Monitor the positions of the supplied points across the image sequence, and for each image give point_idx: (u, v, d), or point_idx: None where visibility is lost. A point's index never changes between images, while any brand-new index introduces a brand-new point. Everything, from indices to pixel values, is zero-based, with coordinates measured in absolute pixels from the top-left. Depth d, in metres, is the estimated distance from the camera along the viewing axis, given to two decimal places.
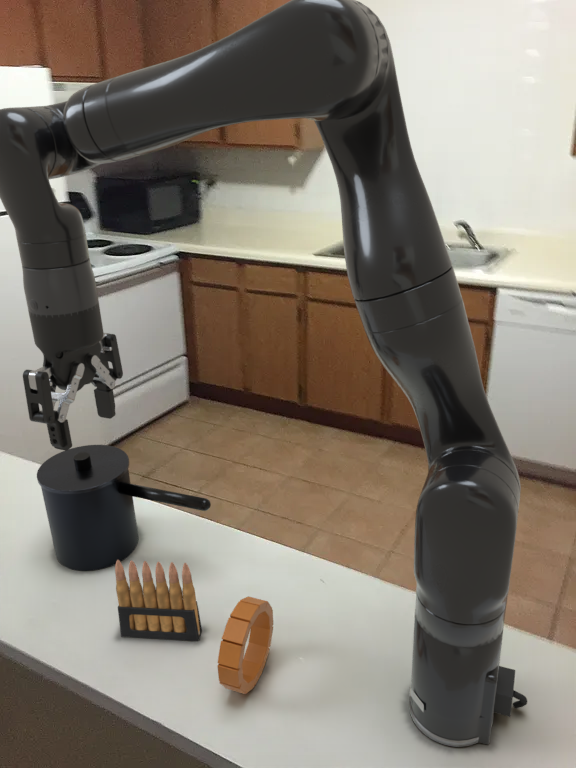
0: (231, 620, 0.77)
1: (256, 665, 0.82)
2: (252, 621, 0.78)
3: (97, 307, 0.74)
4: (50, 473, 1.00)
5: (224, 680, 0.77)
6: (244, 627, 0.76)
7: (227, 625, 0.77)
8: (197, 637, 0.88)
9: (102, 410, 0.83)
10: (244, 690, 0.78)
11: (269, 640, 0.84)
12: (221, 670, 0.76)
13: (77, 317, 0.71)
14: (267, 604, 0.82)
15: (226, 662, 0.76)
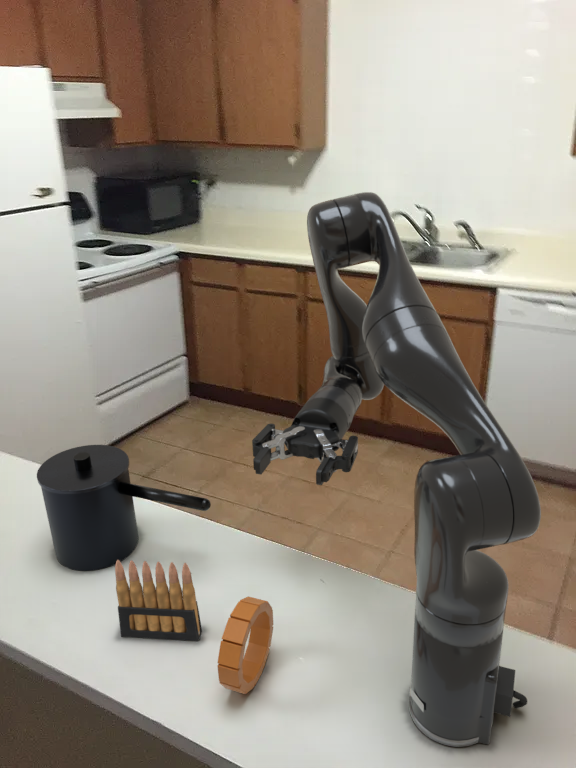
0: (231, 620, 0.77)
1: (256, 665, 0.82)
2: (252, 621, 0.78)
3: (330, 400, 0.99)
4: (50, 473, 1.00)
5: (224, 680, 0.77)
6: (244, 627, 0.76)
7: (227, 625, 0.77)
8: (197, 637, 0.88)
9: None
10: (244, 690, 0.78)
11: (269, 640, 0.84)
12: (221, 670, 0.76)
13: (310, 400, 1.00)
14: (267, 604, 0.82)
15: (226, 662, 0.76)
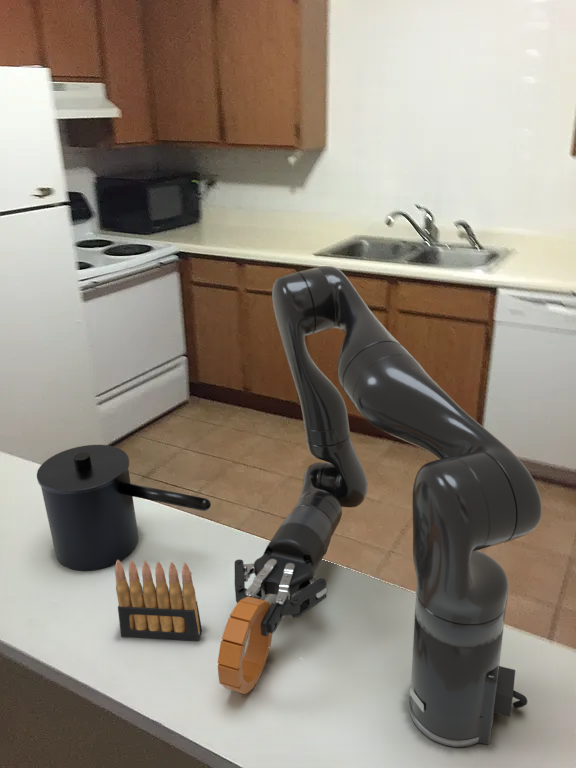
0: (231, 620, 0.77)
1: (256, 665, 0.82)
2: (252, 621, 0.78)
3: (305, 527, 0.93)
4: (50, 473, 1.00)
5: (224, 680, 0.76)
6: (244, 627, 0.76)
7: (227, 625, 0.77)
8: (197, 637, 0.88)
9: None
10: (244, 690, 0.78)
11: (269, 640, 0.84)
12: (221, 670, 0.76)
13: (284, 526, 0.94)
14: (267, 604, 0.82)
15: (226, 662, 0.76)
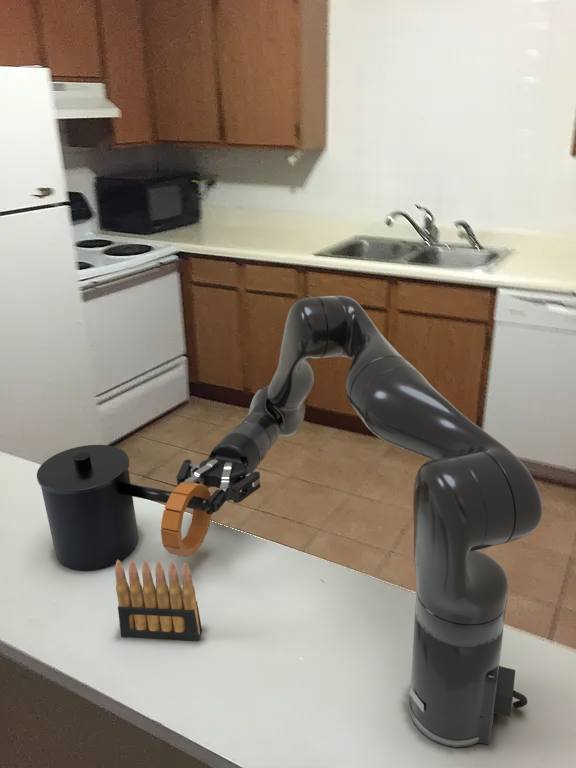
0: (173, 494, 0.95)
1: (196, 539, 1.00)
2: (190, 496, 0.95)
3: (244, 436, 1.11)
4: (50, 473, 1.00)
5: (166, 542, 0.94)
6: (183, 499, 0.94)
7: (169, 498, 0.95)
8: (197, 637, 0.88)
9: None
10: (183, 552, 0.95)
11: (208, 521, 1.02)
12: (163, 533, 0.94)
13: (227, 436, 1.12)
14: (205, 488, 1.00)
15: (167, 526, 0.93)
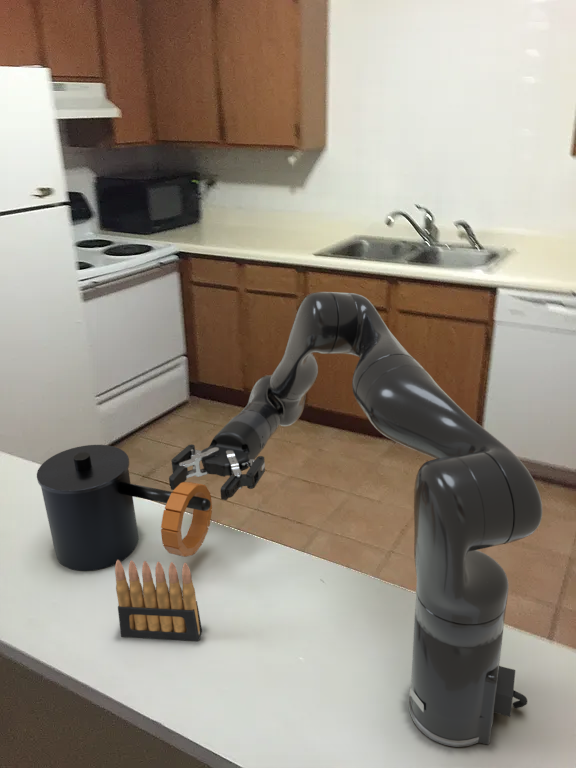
0: (173, 494, 0.95)
1: (196, 539, 1.00)
2: (190, 496, 0.95)
3: (245, 424, 1.11)
4: (50, 473, 1.00)
5: (166, 542, 0.94)
6: (183, 499, 0.94)
7: (169, 498, 0.95)
8: (197, 637, 0.88)
9: None
10: (183, 552, 0.95)
11: (208, 520, 1.02)
12: (164, 533, 0.94)
13: (228, 424, 1.12)
14: (205, 488, 1.00)
15: (167, 526, 0.93)
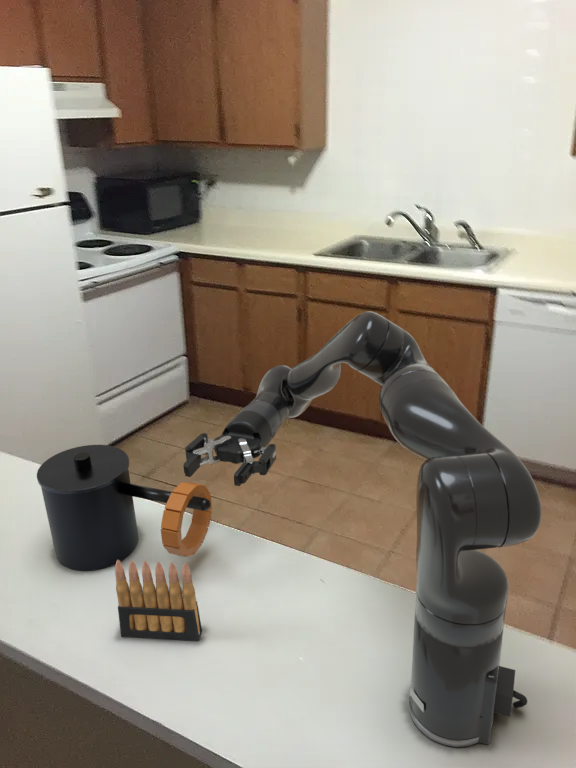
0: (173, 494, 0.95)
1: (196, 539, 1.00)
2: (190, 496, 0.95)
3: (256, 413, 1.14)
4: (50, 473, 1.00)
5: (166, 542, 0.94)
6: (183, 499, 0.94)
7: (169, 498, 0.95)
8: (197, 637, 0.88)
9: None
10: (183, 552, 0.95)
11: (208, 521, 1.02)
12: (163, 533, 0.94)
13: (239, 413, 1.15)
14: (205, 488, 1.00)
15: (167, 526, 0.93)
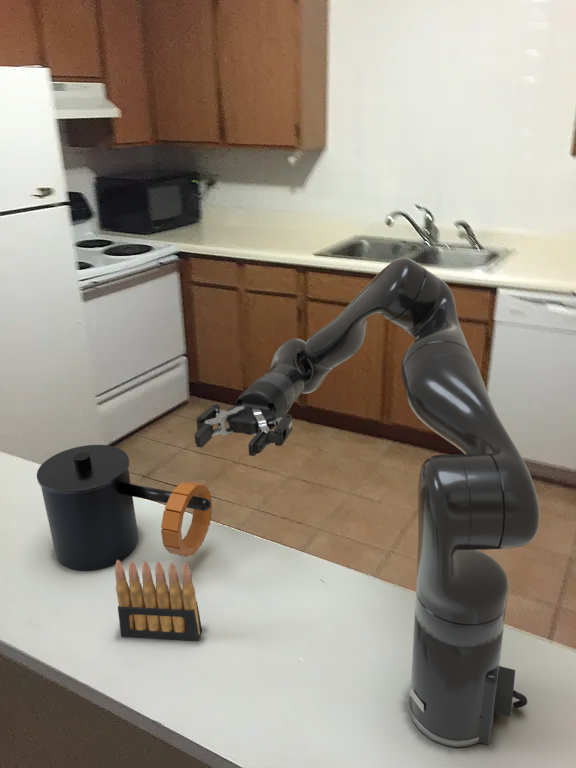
0: (173, 495, 0.95)
1: (196, 538, 1.00)
2: (190, 496, 0.95)
3: (271, 384, 1.08)
4: (50, 473, 1.00)
5: (167, 542, 0.94)
6: (183, 499, 0.94)
7: (169, 498, 0.95)
8: (197, 637, 0.88)
9: None
10: (184, 552, 0.96)
11: (208, 520, 1.02)
12: (164, 533, 0.94)
13: (253, 384, 1.09)
14: (205, 487, 1.00)
15: (168, 526, 0.93)
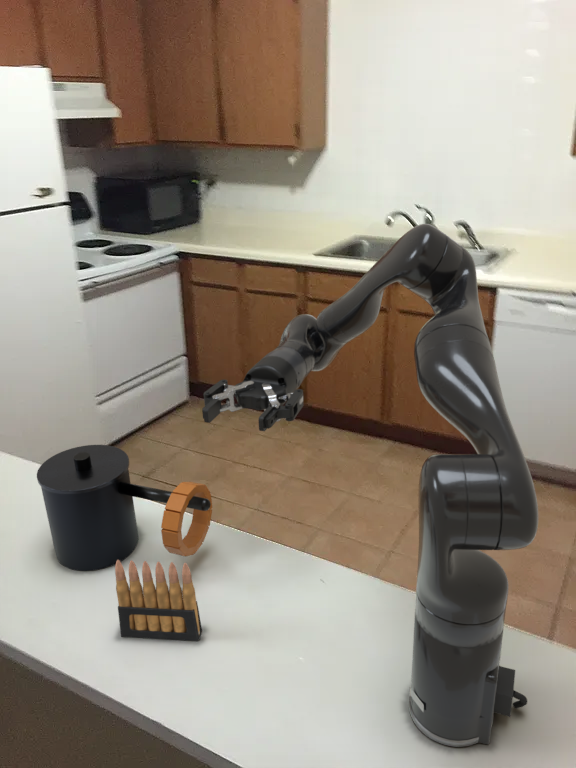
0: (173, 495, 0.95)
1: (196, 538, 1.00)
2: (190, 496, 0.95)
3: (281, 358, 1.05)
4: (50, 473, 1.00)
5: (167, 542, 0.94)
6: (183, 499, 0.94)
7: (169, 498, 0.95)
8: (197, 637, 0.88)
9: None
10: (184, 552, 0.96)
11: (208, 519, 1.02)
12: (164, 534, 0.94)
13: (262, 359, 1.06)
14: (205, 487, 1.00)
15: (168, 526, 0.93)
